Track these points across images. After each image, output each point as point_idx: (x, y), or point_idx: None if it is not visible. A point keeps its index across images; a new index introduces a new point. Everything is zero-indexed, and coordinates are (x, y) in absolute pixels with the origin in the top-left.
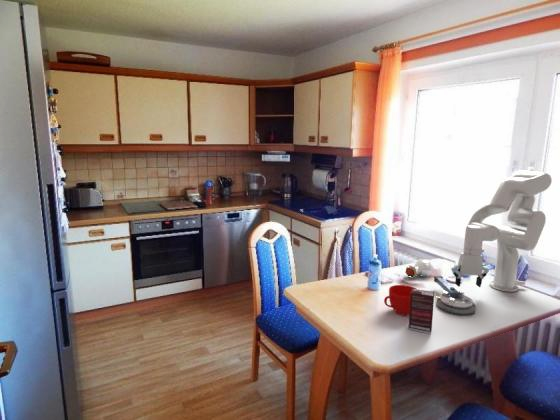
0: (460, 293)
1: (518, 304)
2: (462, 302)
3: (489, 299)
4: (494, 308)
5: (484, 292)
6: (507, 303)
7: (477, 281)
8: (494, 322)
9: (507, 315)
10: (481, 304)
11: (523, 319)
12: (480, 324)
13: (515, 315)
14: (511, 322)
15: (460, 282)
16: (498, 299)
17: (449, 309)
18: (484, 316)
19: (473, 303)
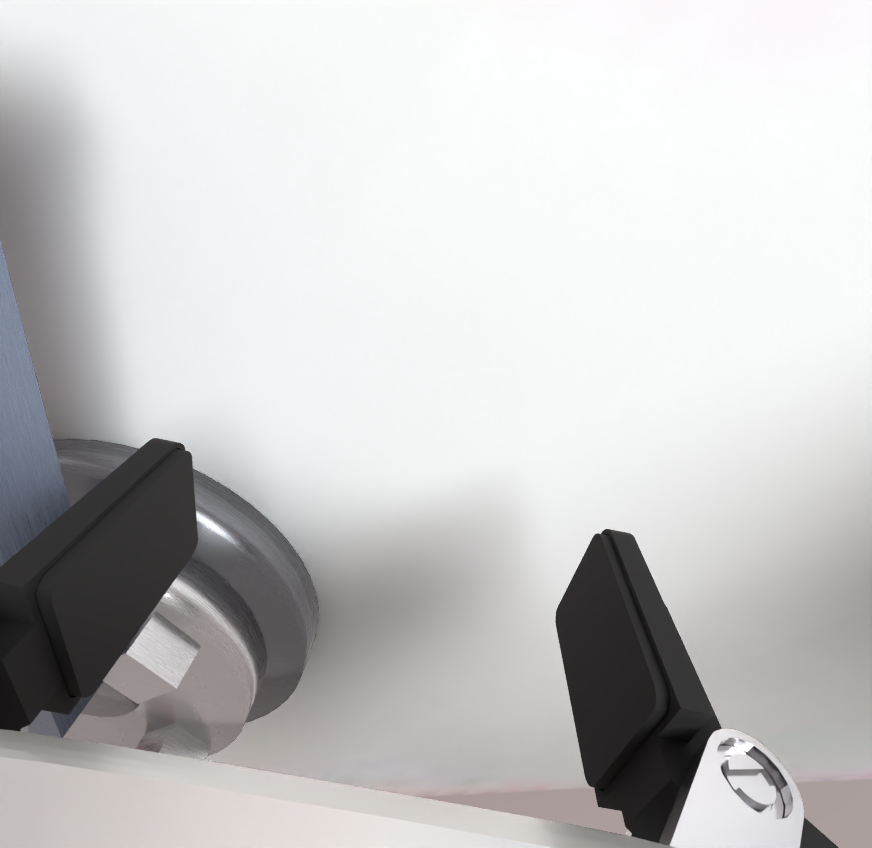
0: (119, 685)
1: (829, 667)
2: (116, 733)
3: (647, 534)
4: (505, 666)
5: (829, 342)
6: (742, 634)
7: (600, 643)
8: (336, 767)
9: (507, 743)
10: (445, 595)
11: (568, 787)
12: (229, 760)
13: (569, 754)
14: (449, 787)
15: (147, 615)
16: (758, 555)
17: None
18: (319, 718)
19: (299, 662)
